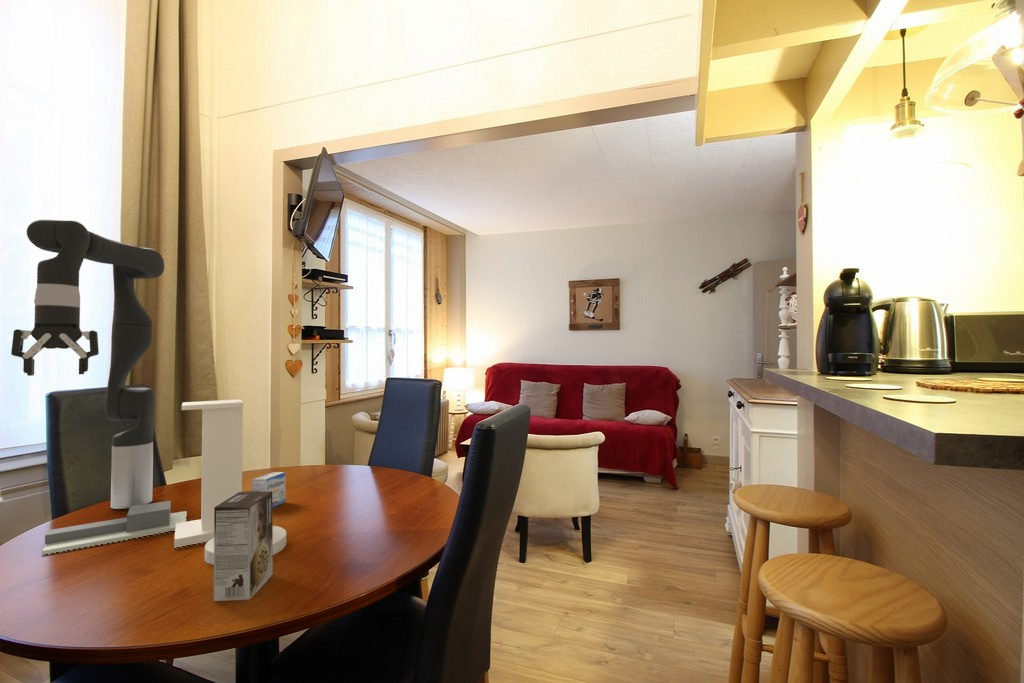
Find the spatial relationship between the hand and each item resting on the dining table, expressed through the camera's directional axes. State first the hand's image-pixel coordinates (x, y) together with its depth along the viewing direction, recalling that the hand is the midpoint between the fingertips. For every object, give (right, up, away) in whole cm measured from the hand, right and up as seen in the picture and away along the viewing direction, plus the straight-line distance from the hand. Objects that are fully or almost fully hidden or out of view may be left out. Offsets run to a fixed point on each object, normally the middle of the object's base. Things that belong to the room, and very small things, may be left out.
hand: (56, 374), depth 107 cm
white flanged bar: (+34, -38, +3) cm, 51 cm away
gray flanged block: (+11, -37, +2) cm, 39 cm away
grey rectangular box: (+57, -37, -24) cm, 72 cm away
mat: (+12, -38, +3) cm, 40 cm away
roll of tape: (+48, -38, -7) cm, 62 cm away
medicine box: (+38, -39, +22) cm, 58 cm away
